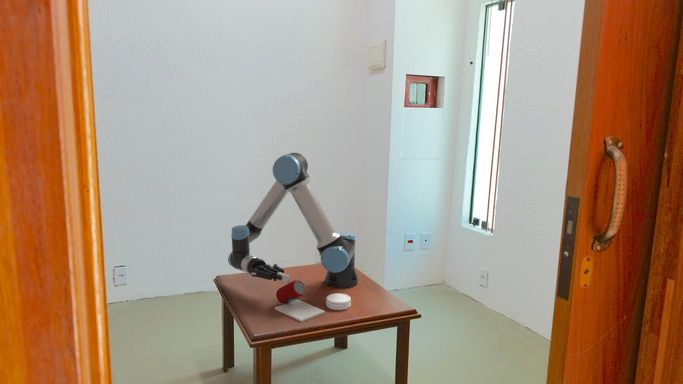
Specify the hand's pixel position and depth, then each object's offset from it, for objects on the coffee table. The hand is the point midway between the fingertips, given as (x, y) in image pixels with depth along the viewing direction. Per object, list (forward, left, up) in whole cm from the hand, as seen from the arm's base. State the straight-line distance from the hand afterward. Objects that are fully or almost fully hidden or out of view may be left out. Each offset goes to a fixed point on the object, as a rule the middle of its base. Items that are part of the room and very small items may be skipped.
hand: (288, 279), depth 192 cm
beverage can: (+2, -4, -9) cm, 10 cm away
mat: (-4, +5, -11) cm, 13 cm away
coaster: (-20, +1, -12) cm, 23 cm away
